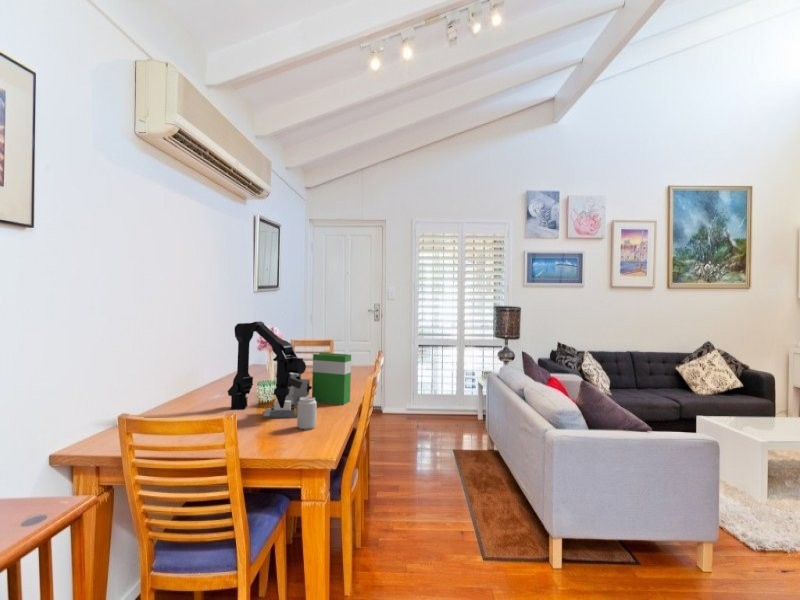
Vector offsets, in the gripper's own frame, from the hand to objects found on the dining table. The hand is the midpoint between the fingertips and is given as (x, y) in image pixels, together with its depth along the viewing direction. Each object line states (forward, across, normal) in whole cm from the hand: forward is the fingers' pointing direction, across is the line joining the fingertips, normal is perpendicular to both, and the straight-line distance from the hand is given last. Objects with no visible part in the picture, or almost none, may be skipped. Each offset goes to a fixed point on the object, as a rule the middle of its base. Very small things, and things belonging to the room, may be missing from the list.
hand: (282, 406), depth 198 cm
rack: (+4, +3, 0) cm, 5 cm away
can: (+4, -19, -11) cm, 23 cm away
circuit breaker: (+4, +24, -5) cm, 25 cm away
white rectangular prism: (+2, 0, 0) cm, 2 cm away
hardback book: (+4, +26, -22) cm, 34 cm away
